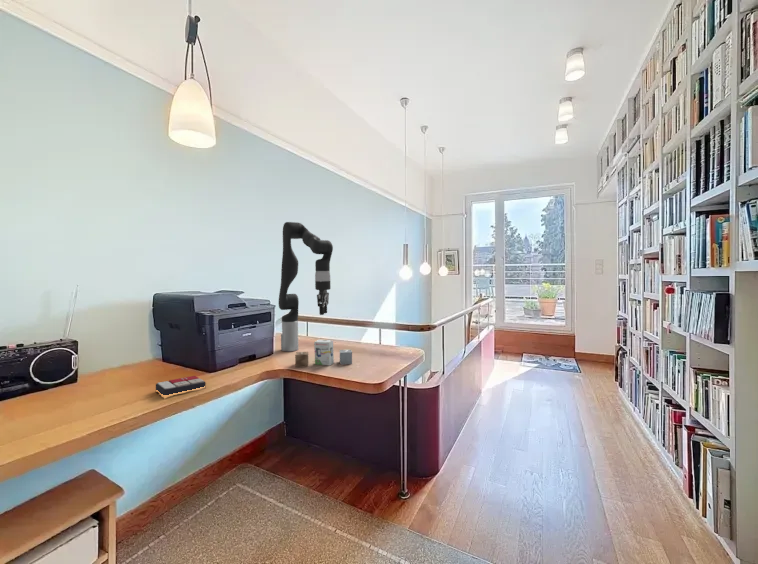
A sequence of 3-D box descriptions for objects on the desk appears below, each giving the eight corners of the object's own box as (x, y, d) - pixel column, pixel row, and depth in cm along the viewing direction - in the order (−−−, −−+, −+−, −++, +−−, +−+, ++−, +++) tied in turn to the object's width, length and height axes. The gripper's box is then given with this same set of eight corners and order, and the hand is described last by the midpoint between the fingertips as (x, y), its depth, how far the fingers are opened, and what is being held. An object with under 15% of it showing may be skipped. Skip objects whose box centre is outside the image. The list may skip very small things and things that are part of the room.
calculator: (205, 380, 142) (164, 387, 131) (205, 390, 142) (163, 399, 131) (195, 374, 149) (155, 381, 138) (195, 384, 149) (155, 392, 138)
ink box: (334, 363, 177) (333, 340, 177) (329, 365, 172) (329, 342, 172) (318, 361, 180) (318, 339, 179) (314, 364, 175) (313, 341, 174)
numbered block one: (295, 367, 171) (295, 354, 171) (296, 363, 177) (296, 351, 177) (308, 366, 172) (307, 354, 172) (308, 363, 178) (308, 351, 177)
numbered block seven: (340, 364, 175) (340, 352, 174) (339, 361, 181) (339, 349, 180) (352, 364, 176) (352, 351, 175) (351, 360, 181) (351, 349, 181)
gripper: (319, 279, 182) (320, 312, 183) (311, 280, 168) (311, 315, 168) (333, 279, 181) (334, 312, 182) (326, 280, 167) (327, 316, 168)
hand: (323, 313), depth 175 cm, fingers open, 5 cm apart
